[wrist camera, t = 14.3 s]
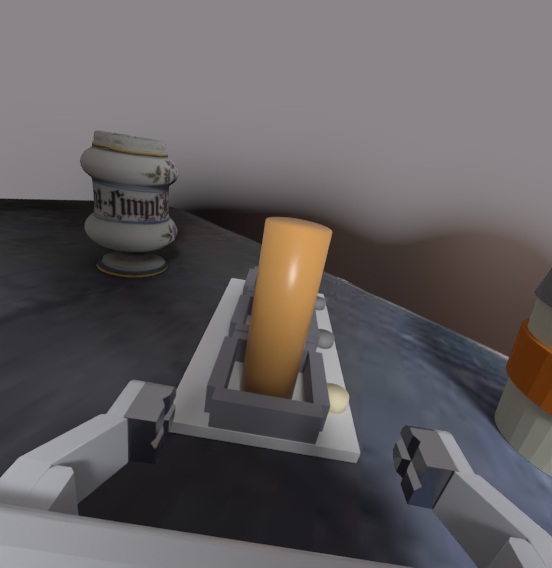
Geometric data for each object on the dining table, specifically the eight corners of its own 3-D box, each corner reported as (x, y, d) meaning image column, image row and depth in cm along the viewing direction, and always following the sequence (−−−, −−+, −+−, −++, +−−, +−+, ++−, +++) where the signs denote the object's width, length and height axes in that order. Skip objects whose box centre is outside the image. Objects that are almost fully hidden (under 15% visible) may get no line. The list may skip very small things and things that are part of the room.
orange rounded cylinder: (230, 383, 26) (252, 216, 20) (271, 368, 28) (301, 217, 23) (259, 420, 23) (295, 235, 17) (303, 399, 25) (346, 234, 20)
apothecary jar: (87, 251, 49) (79, 124, 42) (167, 251, 55) (171, 141, 48) (86, 282, 39) (75, 126, 32) (182, 279, 45) (191, 146, 38)
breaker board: (356, 463, 22) (370, 427, 21) (161, 430, 22) (162, 391, 20) (321, 300, 47) (327, 279, 46) (230, 284, 47) (233, 262, 45)
